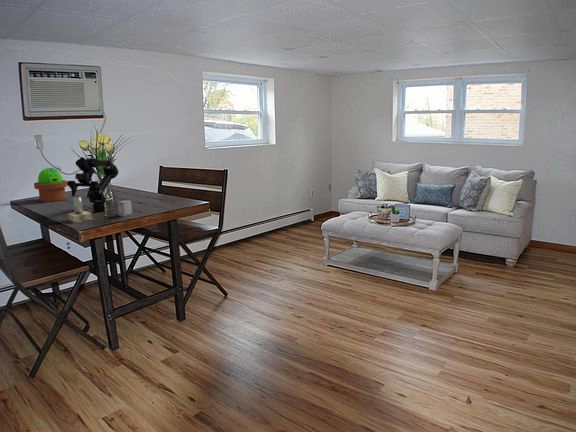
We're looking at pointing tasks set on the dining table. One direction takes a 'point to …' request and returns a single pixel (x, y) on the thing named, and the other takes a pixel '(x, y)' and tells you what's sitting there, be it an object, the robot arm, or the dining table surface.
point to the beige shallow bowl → (79, 217)
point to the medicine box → (125, 208)
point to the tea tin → (78, 205)
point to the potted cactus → (51, 185)
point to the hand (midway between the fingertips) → (80, 196)
